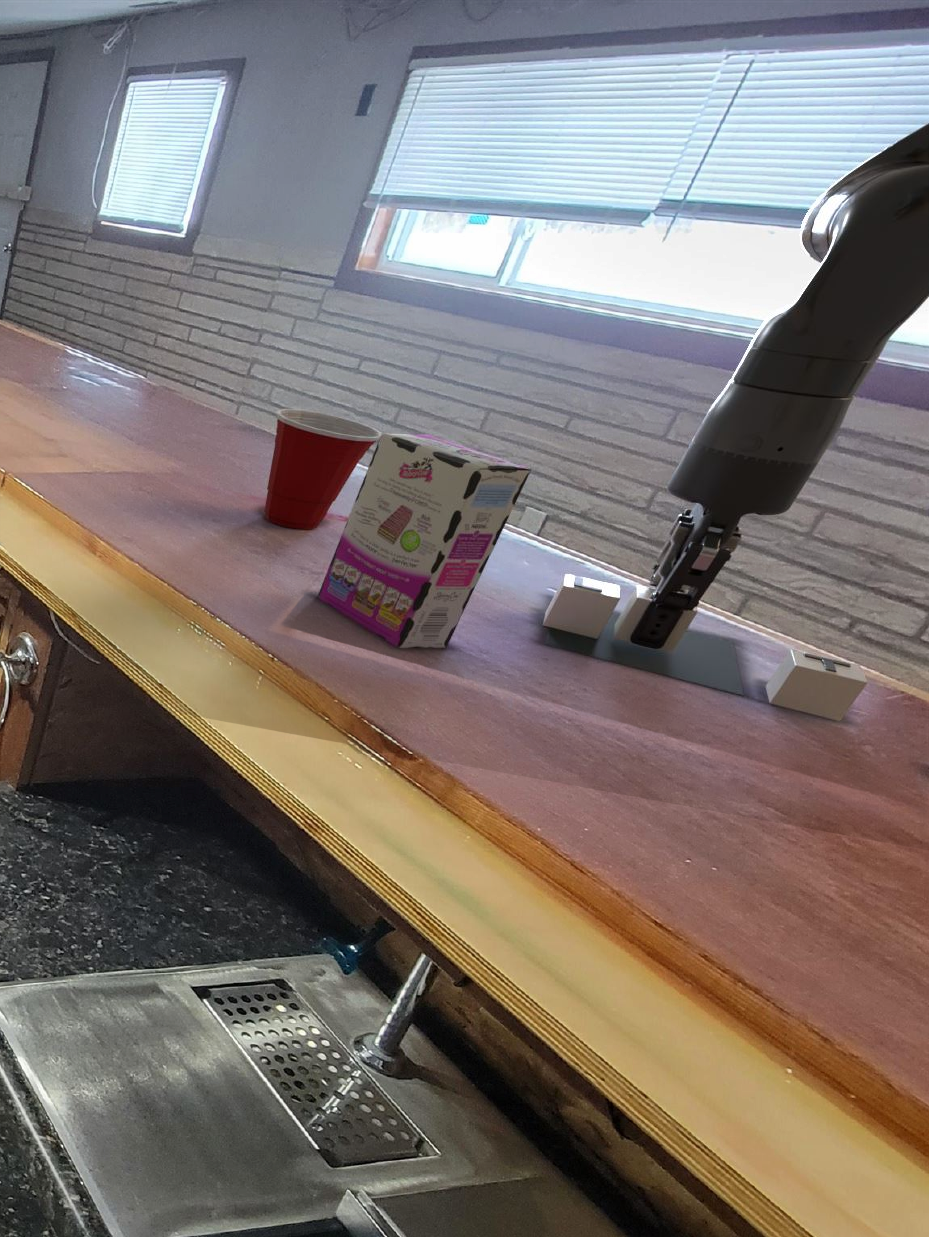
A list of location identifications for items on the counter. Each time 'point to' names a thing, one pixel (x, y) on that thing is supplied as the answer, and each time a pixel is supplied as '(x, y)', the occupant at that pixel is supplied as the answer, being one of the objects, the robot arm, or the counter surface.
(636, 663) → the word mat
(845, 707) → the tile
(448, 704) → the counter surface
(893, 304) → the robot arm
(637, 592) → the tile
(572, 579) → the tile
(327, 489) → the plastic cup
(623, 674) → the counter surface
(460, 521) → the candy bar box
